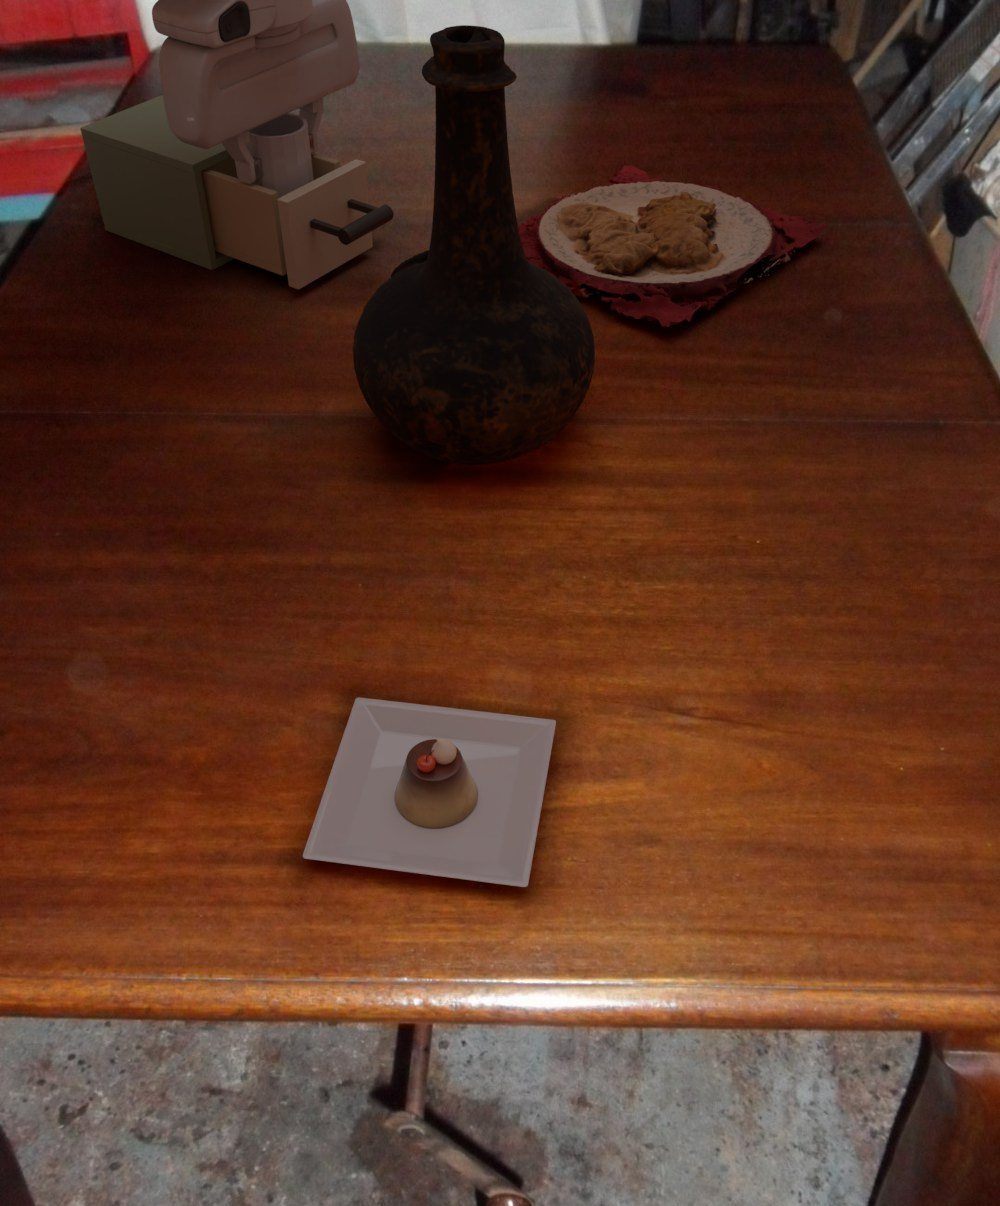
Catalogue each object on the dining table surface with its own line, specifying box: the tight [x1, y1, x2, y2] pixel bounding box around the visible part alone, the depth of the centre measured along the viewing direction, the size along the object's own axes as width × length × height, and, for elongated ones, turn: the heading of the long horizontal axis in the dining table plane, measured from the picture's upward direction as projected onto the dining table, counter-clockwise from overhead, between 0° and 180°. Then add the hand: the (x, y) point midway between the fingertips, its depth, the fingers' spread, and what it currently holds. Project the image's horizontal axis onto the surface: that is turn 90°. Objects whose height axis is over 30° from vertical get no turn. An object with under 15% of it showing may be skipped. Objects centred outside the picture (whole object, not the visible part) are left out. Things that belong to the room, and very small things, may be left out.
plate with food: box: [518, 165, 827, 328], centre depth 112 cm, size 24×26×4 cm
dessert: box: [302, 697, 557, 888], centre depth 65 cm, size 12×12×5 cm
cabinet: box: [80, 94, 236, 271], centre depth 113 cm, size 15×12×10 cm
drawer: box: [201, 152, 394, 290], centre depth 108 cm, size 18×10×8 cm, turn 55°
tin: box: [245, 112, 314, 198], centre depth 105 cm, size 6×6×6 cm
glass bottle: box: [352, 24, 596, 466], centre depth 82 cm, size 18×18×28 cm
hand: (278, 166), depth 105 cm, fingers closed on tin, 6 cm apart
